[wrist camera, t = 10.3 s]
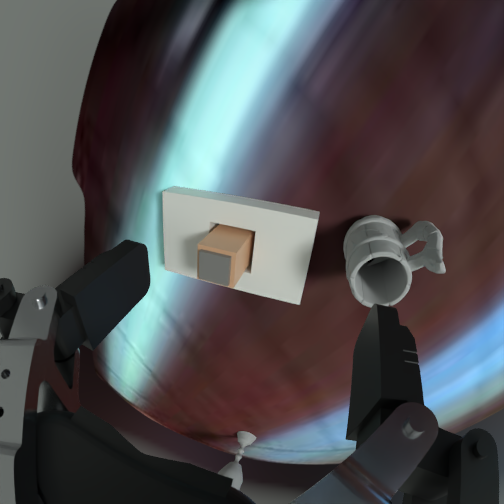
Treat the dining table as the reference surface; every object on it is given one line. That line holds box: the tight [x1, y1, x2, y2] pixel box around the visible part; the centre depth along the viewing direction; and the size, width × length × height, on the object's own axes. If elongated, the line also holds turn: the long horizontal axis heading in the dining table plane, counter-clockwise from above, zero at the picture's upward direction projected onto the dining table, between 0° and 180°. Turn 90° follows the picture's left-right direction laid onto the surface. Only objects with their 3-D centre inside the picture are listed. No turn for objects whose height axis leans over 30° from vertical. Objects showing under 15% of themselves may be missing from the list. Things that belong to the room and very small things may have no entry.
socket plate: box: [163, 186, 320, 305], centre depth 38 cm, size 12×20×3 cm, turn 84°
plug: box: [197, 224, 256, 288], centre depth 36 cm, size 5×5×9 cm
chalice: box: [218, 431, 256, 490], centre depth 55 cm, size 7×7×18 cm
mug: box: [343, 215, 446, 308], centre depth 28 cm, size 8×12×12 cm, turn 123°
